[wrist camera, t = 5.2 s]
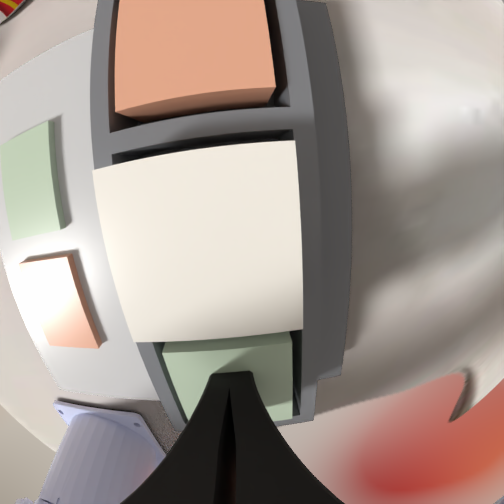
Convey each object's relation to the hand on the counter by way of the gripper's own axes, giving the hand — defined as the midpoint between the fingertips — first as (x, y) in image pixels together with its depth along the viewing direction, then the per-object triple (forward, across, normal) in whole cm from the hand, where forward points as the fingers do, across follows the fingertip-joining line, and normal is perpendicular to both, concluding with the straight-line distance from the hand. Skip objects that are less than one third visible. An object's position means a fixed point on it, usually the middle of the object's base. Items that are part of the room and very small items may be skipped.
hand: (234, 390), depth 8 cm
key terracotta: (+2, 0, -11) cm, 11 cm away
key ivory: (+1, 0, -5) cm, 6 cm away
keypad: (+4, +3, -6) cm, 8 cm away
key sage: (+2, 0, 0) cm, 2 cm away
